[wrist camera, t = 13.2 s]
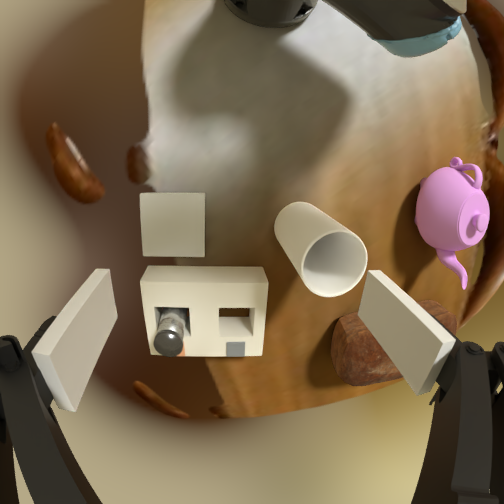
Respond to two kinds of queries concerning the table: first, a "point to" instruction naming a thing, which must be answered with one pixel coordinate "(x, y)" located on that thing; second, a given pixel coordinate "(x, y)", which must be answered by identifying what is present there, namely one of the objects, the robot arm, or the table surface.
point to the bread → (371, 348)
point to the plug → (171, 331)
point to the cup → (320, 249)
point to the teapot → (452, 212)
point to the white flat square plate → (173, 224)
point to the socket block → (208, 307)
